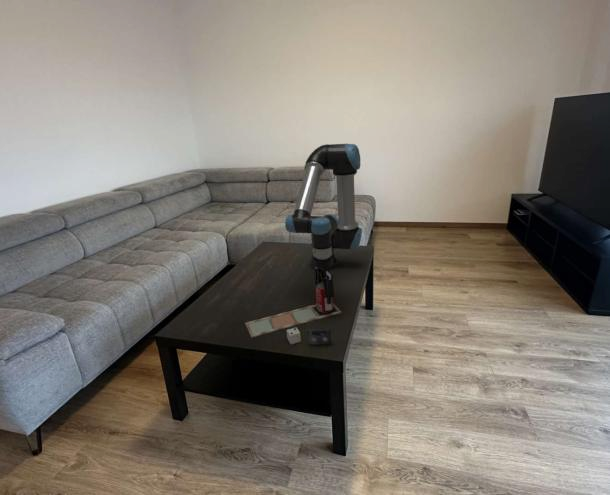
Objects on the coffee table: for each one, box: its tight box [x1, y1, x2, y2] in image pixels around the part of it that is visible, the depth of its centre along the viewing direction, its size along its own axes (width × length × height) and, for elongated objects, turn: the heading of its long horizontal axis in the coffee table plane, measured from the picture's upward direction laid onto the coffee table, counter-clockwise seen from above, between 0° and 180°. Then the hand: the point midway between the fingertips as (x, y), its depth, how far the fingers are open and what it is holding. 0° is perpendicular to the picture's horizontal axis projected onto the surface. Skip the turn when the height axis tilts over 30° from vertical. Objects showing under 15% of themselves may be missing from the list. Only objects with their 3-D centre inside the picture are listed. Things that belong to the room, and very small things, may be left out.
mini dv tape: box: [307, 328, 332, 346], centre depth 129 cm, size 8×2×6 cm, turn 87°
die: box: [286, 326, 302, 345], centre depth 132 cm, size 4×4×4 cm
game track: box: [244, 302, 342, 338], centre depth 147 cm, size 39×10×1 cm, turn 111°
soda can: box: [315, 282, 334, 314], centre depth 149 cm, size 7×7×12 cm
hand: (324, 305), depth 150 cm, fingers closed on soda can, 7 cm apart
